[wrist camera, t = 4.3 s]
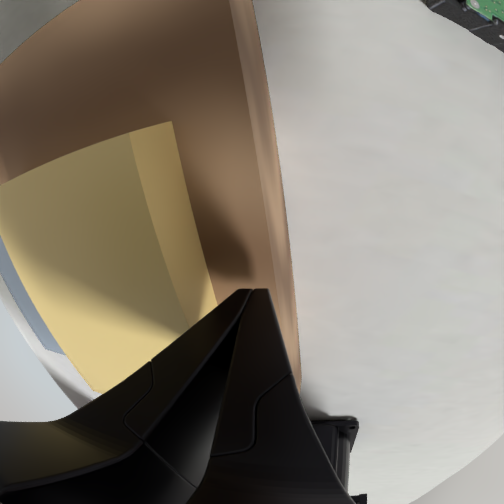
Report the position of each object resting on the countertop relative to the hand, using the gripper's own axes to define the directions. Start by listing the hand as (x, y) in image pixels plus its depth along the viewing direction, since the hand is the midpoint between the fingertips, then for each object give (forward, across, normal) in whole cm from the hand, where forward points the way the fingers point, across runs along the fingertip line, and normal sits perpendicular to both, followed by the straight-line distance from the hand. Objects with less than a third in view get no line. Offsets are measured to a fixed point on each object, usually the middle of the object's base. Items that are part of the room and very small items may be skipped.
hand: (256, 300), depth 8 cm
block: (+1, +5, 0) cm, 5 cm away
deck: (+5, +6, 0) cm, 7 cm away
